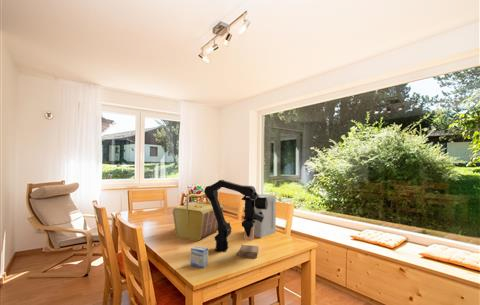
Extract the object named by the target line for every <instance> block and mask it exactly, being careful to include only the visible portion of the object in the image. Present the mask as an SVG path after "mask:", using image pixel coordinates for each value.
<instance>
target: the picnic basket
mask: <svg viewBox="0 0 480 305" xmlns="http://www.w3.org/2000/svg"><path fill="white" fill-rule="evenodd" d="M204 195H206V194H205V192H204V191H203V192H201V193H200V194H199V193H192V194H188V195H187V196H186V204H185V205H181V206H178V207H174V208H173V209H172V217H173V222H174V223H173V224H174V229H175V235H176V236H177V237H178V238H180V239H184V240H191V241H195V242H196V241H199V240H201V239H203V238H205V237H207V236H208V235H211V234H212V233H215V232H218V223H217V220H216V217H215V214H214V211H213V208H212V205H211V202H210V200H209V199H208V202H201V201H197V202H193V203H190V204H189V199H190V197H192V196H194V198H195V197H197V198H198V197H202V196H204ZM219 204H220V207H221V210H222V213H223V214H224V206H223V205H222V204H221V203H219Z"/></svg>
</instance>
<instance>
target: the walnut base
mask: <svg viewBox="0 0 480 305" xmlns="http://www.w3.org/2000/svg"><path fill="white" fill-rule="evenodd" d="M238 250H239V251H238V257H239V258H240V257H241V258H254V259H257V258H258V256H259V255H258V254H259V245H250V244H249V245H245V244H241V246H240V249H238Z"/></svg>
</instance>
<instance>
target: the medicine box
mask: <svg viewBox="0 0 480 305" xmlns="http://www.w3.org/2000/svg"><path fill="white" fill-rule="evenodd" d="M189 262H190V266H191V267H196V268H201V269H204V268H206V267H207V266H208V265H209V248H208V247H203V246H198V245H194V246H193V247H191V248H190V260H189Z"/></svg>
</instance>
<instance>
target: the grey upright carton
mask: <svg viewBox="0 0 480 305" xmlns="http://www.w3.org/2000/svg"><path fill="white" fill-rule="evenodd" d="M257 194H258V196H259V197H267V202H268V207H267V210H265V209H257V208H255V206H254V209H255V212H257V213H259V212H263V215H264V219H263V221H262V222H260V221H258V220H255V219H254V220H253V221H255V223H254V226H253V227H254V237H255V236H256V237H255V238H258V237H259V238H258V239H262V237H263V238H265V236H266V237H268V236H271V235H273V234H275V232H276V230H277V229H276V226H277V225H276V222H277V221H276V220H277V219H276V218H277V215H276V214H277V213H276V212H277V209H276V208H277V203H276V202H277V195H276V194H267V193H266V194H265V193H264V194H263V193H261V194H260V193H257ZM272 233H273V234H272ZM270 234H271V235H270ZM267 235H268V236H267Z"/></svg>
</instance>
